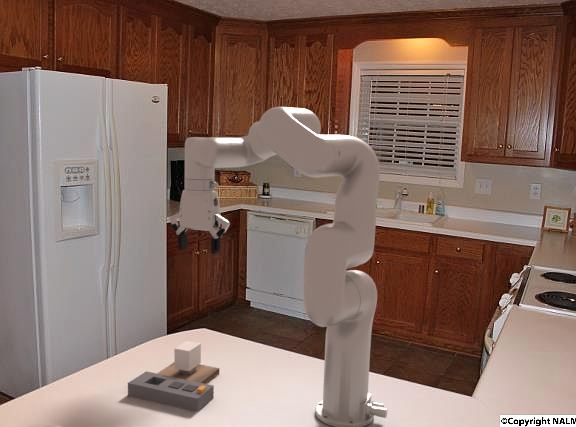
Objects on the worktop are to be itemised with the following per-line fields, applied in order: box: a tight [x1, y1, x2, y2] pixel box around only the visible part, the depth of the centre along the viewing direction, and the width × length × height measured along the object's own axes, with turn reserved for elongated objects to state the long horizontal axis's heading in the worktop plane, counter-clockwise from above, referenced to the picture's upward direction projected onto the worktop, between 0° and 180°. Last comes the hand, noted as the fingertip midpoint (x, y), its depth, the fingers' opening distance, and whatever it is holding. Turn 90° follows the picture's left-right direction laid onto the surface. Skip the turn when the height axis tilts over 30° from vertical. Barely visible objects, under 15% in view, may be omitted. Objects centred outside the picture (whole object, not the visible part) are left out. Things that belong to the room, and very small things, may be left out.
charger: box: [174, 340, 202, 375], centre depth 139 cm, size 4×6×6 cm
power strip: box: [127, 370, 215, 413], centre depth 129 cm, size 18×7×4 cm, turn 68°
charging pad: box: [156, 361, 220, 384], centre depth 140 cm, size 12×10×2 cm
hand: (198, 251), depth 150 cm, fingers open, 9 cm apart
